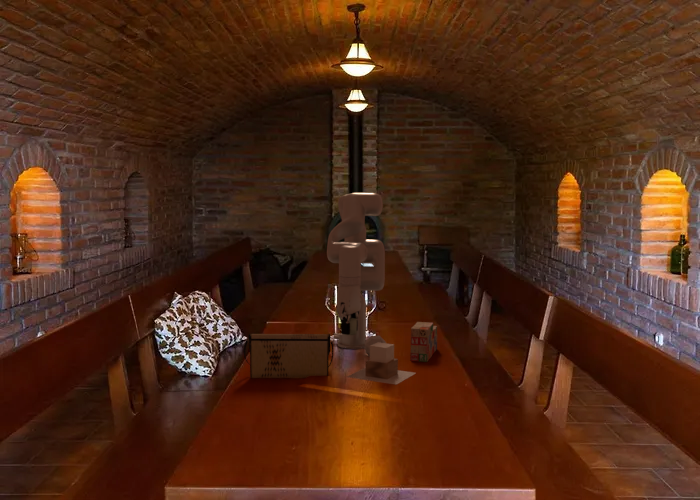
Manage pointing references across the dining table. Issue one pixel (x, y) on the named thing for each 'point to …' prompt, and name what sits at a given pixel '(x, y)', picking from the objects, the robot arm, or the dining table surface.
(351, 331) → the olive domed cylinder
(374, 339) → the chicken leg
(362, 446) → the dining table surface
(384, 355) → the middle block
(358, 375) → the grey board
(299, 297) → the dining table surface
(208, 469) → the dining table surface
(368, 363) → the base block
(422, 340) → the stack of blocks
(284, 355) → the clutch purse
